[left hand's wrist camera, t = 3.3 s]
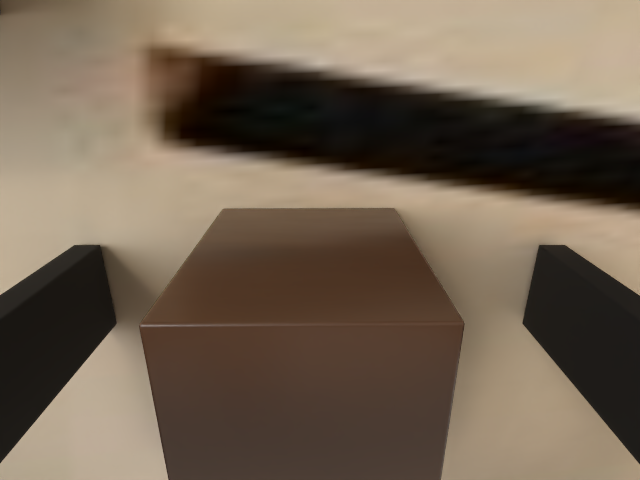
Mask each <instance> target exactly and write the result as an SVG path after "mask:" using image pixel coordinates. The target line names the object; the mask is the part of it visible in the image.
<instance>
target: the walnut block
mask: <svg viewBox="0 0 640 480" xmlns="http://www.w3.org/2000/svg"><path fill="white" fill-rule="evenodd" d="M139 328H140V333H141V338H142V343H143V348H144V354H145V359H146V364H147V369H148V375H149V380H150V385H151V390H152V396H153V401H154V406H155V411H156V416H157V422H158V427H159V432H160V437H161V443H162V448H163V453H164V458H165V463H166V469H167V474H168V479H169V480H441V474H442V468H443V461H444V455H445V448H446V442H447V435H448V428H449V422H450V415H451V409H452V402H453V396H454V389H455V383H456V376H457V369H458V363H459V356H460V350H461V343H462V337H463V330H464V321H463V320H462V318H461V316H460V315H459V313H458V312H457V310H456V308H455V307H454V305H453V303H452V302H451V300H450V298H449V297H448V295H447V294H446V292H445V290H444V289H443V287H442V285H441V284H440V282H439V281H438V279H437V277H436V276H435V274H434V272H433V271H432V269H431V267H430V266H429V264H428V263H427V261H426V259H425V258H424V256H423V254H422V253H421V251H420V249H419V248H418V246H417V245H416V243H415V241H414V240H413V238H412V236H411V235H410V233H409V232H408V230H407V228H406V227H405V225H404V223H403V222H402V220H401V218H400V217H399V215H398V214H397V212H396V210H395V209H393V208H368V209H223V210H222V211H221V212H220V214H219V215H218V216H217V218H216V219H215V221H214V222H213V223H212V225H211V226H210V227H209V229H208V230H207V232H206V233H205V234H204V236H203V237H202V239H201V240H200V241H199V243H198V244H197V245H196V247H195V248H194V250H193V251H192V252H191V254H190V255H189V256H188V258H187V259H186V261H185V262H184V263H183V265H182V266H181V267H180V269H179V270H178V272H177V273H176V274H175V276H174V277H173V278H172V280H171V281H170V283H169V284H168V285H167V287H166V288H165V290H164V291H163V292H162V294H161V295H160V296H159V298H158V299H157V301H156V302H155V303H154V305H153V306H152V307H151V309H150V310H149V312H148V313H147V314H146V316H145V317H144V318H143V320H142V321H141V323H140V325H139Z"/></svg>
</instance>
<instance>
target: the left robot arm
mask: <svg viewBox="0 0 640 480" xmlns="http://www.w3.org/2000/svg"><path fill="white" fill-rule="evenodd" d="M116 324H117V323H116V318H115V313H114V309H113V304H112V299H111V295H110V290H109V286H108V281H107V276H106V272H105V267H104V262H103V258H102V253H101V248H100V245H74V246H73V247H71V248H70V249H68V250H67V251H65V252H64V253H62V254H61V255H59V256H58V257H56V258H55V259H53V260H52V261H50V262H49V263H47V264H46V265H44V266H43V267H42V268H40V269H39V270H37V271H36V272H34V273H33V274H31V275H30V276H28V277H27V278H25V279H24V280H22V281H21V282H19V283H18V284H16V285H15V286H13V287H12V288H10V289H9V290H7V291H6V292H4V293H3V294H1V295H0V463H1V462H2V460H3V459H4V458H5V457H6V456H7V454H8V453H9V452H10V451H11V450H12V448H13V447H14V446H15V445H16V444H17V442H18V441H19V440H20V439H21V438H22V436H23V435H24V434H25V433H26V432H27V430H28V429H29V428H30V427H31V426H32V424H33V423H34V422H35V421H36V420H37V418H38V417H39V416H40V415H41V414H42V412H43V411H44V410H45V409H46V408H47V406H48V405H49V404H50V403H51V402H52V400H53V399H54V398H55V397H56V396H57V394H58V393H59V392H60V391H61V390H62V388H63V387H64V386H65V385H66V384H67V382H68V381H69V380H70V379H71V378H72V376H73V375H74V374H75V373H76V372H77V370H78V369H79V368H80V367H81V366H82V364H83V363H84V362H85V361H86V360H87V358H88V357H89V356H90V355H91V354H92V352H93V351H94V350H95V349H96V348H97V346H98V345H99V344H100V343H101V342H102V340H103V339H104V338H105V337H106V336H107V334H108V333H109V332H110V331H111V330H112V328H113V327H114V326H115V325H116ZM523 324H524V326H525V327H526V328H527V329H528V330H529V332H530V333H531V334H532V335H533V336H534V338H535V339H536V340H537V341H538V342H539V344H540V345H541V346H542V347H543V348H544V350H545V351H546V352H547V353H548V354H549V356H550V357H551V358H552V359H553V360H554V362H555V363H556V364H557V365H558V366H559V368H560V369H561V370H562V371H563V372H564V374H565V375H566V376H567V377H568V378H569V380H570V381H571V382H572V383H573V384H574V386H575V387H576V388H577V389H578V391H579V392H580V393H581V394H582V395H583V397H584V398H585V399H586V400H587V401H588V403H589V404H590V405H591V406H592V407H593V409H594V410H595V411H596V412H597V413H598V415H599V416H600V417H601V418H602V419H603V421H604V422H605V423H606V424H607V425H608V427H609V428H610V429H611V430H612V431H613V433H614V434H615V435H616V436H617V437H618V439H619V440H620V441H621V442H622V443H623V445H624V446H625V447H626V448H627V449H628V451H629V452H630V453H631V454H632V455H633V457H634V458H635V459H636V460H637V461H638V463H639V464H640V296H639V295H638V294H636V293H635V292H633V291H632V290H630V289H629V288H627V287H626V286H624V285H623V284H621V283H620V282H619V281H617V280H616V279H614V278H613V277H611V276H610V275H608V274H607V273H605V272H604V271H602V270H601V269H599V268H598V267H596V266H595V265H593V264H592V263H590V262H589V261H587V260H586V259H584V258H583V257H581V256H580V255H579V254H577V253H576V252H574V251H573V250H571V249H570V248H568V247H567V246H565V245H539V249H538V254H537V259H536V263H535V268H534V273H533V277H532V282H531V286H530V291H529V296H528V300H527V305H526V310H525V314H524V319H523Z"/></svg>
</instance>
